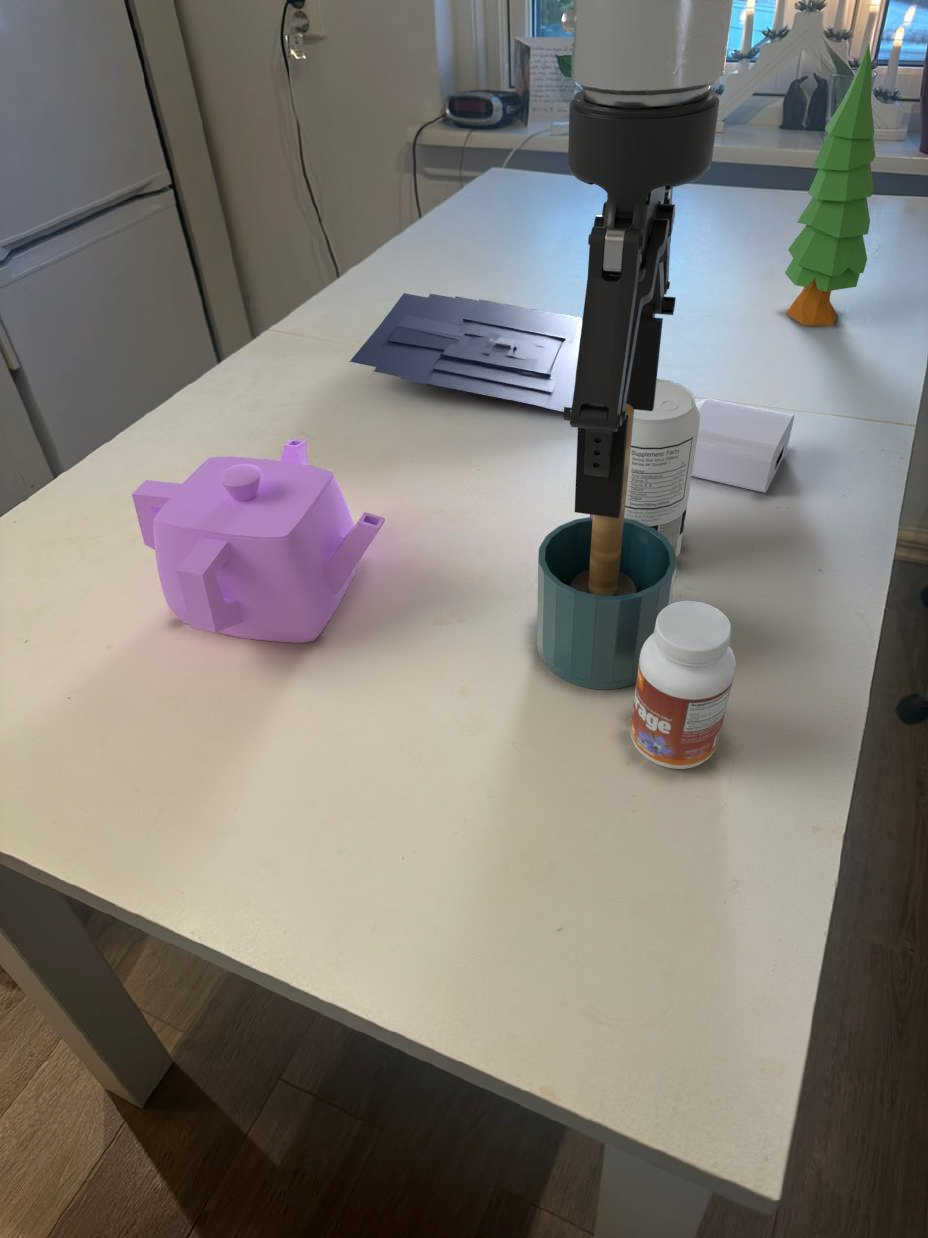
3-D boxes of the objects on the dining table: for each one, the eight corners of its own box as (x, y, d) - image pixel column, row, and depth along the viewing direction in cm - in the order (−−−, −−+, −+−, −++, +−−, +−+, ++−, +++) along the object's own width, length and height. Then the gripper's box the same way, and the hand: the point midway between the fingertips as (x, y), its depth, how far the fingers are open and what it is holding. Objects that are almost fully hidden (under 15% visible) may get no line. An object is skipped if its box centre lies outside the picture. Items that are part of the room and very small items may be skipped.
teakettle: (149, 575, 79) (106, 458, 71) (320, 514, 85) (299, 399, 77) (208, 690, 68) (165, 566, 60) (401, 611, 74) (386, 488, 66)
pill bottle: (614, 719, 64) (626, 605, 57) (689, 697, 65) (710, 583, 58) (655, 783, 60) (674, 669, 52) (734, 757, 61) (763, 642, 54)
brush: (640, 651, 68) (668, 422, 55) (578, 663, 67) (592, 434, 54) (618, 610, 72) (639, 386, 58) (559, 621, 71) (567, 397, 58)
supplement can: (571, 558, 78) (579, 407, 68) (614, 513, 83) (627, 365, 73) (655, 589, 75) (675, 434, 65) (694, 539, 80) (719, 388, 70)
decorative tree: (806, 297, 118) (864, 33, 98) (869, 316, 113) (944, 42, 93) (762, 318, 114) (814, 47, 94) (827, 340, 108) (896, 57, 88)
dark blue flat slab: (407, 307, 119) (408, 280, 117) (624, 347, 115) (630, 320, 112) (344, 390, 102) (343, 361, 99) (597, 441, 98) (603, 412, 95)
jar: (683, 676, 67) (699, 585, 61) (558, 700, 66) (561, 611, 60) (636, 594, 74) (646, 507, 68) (523, 615, 73) (523, 527, 67)
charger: (647, 422, 96) (786, 451, 90) (617, 463, 90) (763, 497, 84) (651, 382, 93) (796, 410, 87) (620, 422, 87) (773, 455, 81)
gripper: (615, 44, 54) (598, 367, 68) (506, 152, 36) (513, 557, 50) (740, 43, 52) (696, 376, 66) (690, 156, 34) (644, 577, 48)
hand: (617, 455), depth 58 cm, fingers open, 13 cm apart
